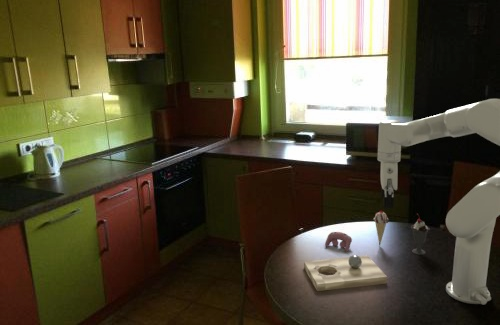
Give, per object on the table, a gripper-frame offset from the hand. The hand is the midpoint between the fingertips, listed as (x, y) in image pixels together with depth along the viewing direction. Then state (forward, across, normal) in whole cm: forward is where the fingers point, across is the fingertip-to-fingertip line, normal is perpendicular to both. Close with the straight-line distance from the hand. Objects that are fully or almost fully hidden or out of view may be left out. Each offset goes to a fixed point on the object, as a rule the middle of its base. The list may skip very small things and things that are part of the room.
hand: (386, 202), depth 156 cm
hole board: (+23, -12, +15) cm, 30 cm away
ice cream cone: (+23, +14, 0) cm, 27 cm away
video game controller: (+23, +11, +17) cm, 30 cm away
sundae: (+23, +10, -14) cm, 29 cm away
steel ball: (+18, -10, +11) cm, 24 cm away
